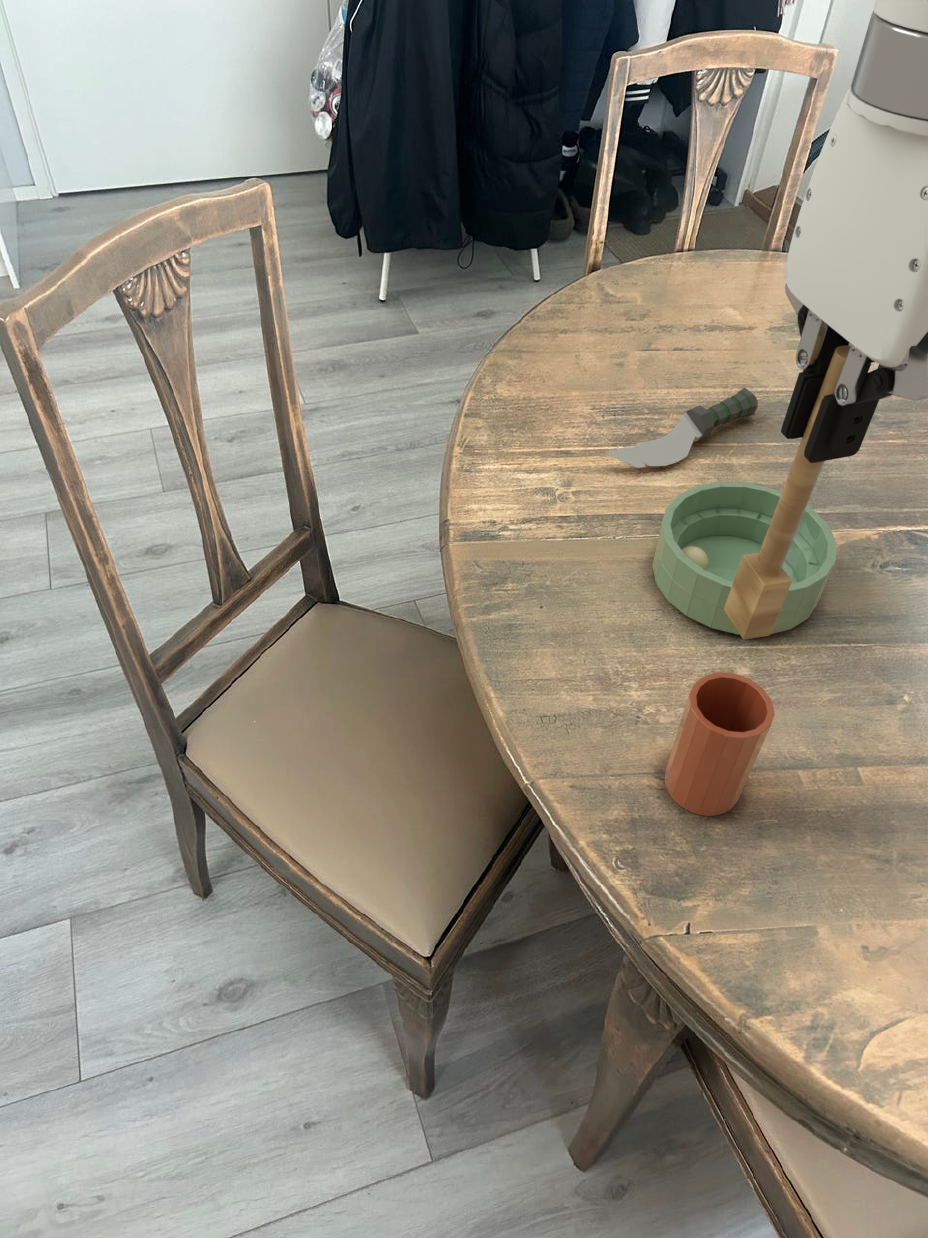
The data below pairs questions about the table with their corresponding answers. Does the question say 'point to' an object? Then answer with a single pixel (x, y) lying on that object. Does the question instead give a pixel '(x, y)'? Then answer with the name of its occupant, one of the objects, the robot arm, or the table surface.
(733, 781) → the utensil cup
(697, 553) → the bead
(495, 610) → the table surface
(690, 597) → the bowl
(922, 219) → the robot arm
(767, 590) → the wooden masher
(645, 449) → the knife
